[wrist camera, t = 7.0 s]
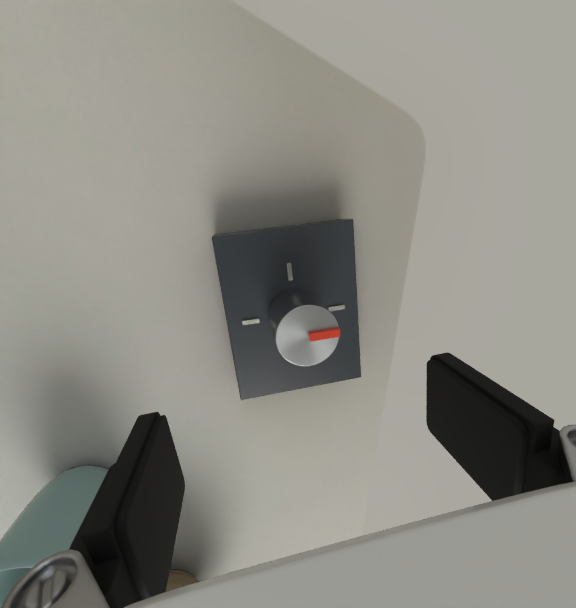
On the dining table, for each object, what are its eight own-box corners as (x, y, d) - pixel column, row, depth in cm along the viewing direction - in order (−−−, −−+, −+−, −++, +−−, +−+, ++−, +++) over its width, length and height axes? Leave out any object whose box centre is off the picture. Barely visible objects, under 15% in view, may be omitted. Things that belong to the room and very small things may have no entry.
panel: (214, 234, 26) (211, 236, 23) (340, 219, 27) (354, 219, 24) (240, 382, 30) (240, 401, 27) (349, 362, 31) (362, 378, 28)
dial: (271, 343, 26) (280, 373, 21) (264, 292, 25) (272, 311, 19) (322, 335, 26) (342, 362, 21) (318, 284, 25) (339, 301, 20)
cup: (142, 456, 30) (99, 567, 20) (128, 520, 32) (82, 649, 22) (53, 446, 28) (-40, 561, 19) (43, 513, 30) (-47, 652, 20)
